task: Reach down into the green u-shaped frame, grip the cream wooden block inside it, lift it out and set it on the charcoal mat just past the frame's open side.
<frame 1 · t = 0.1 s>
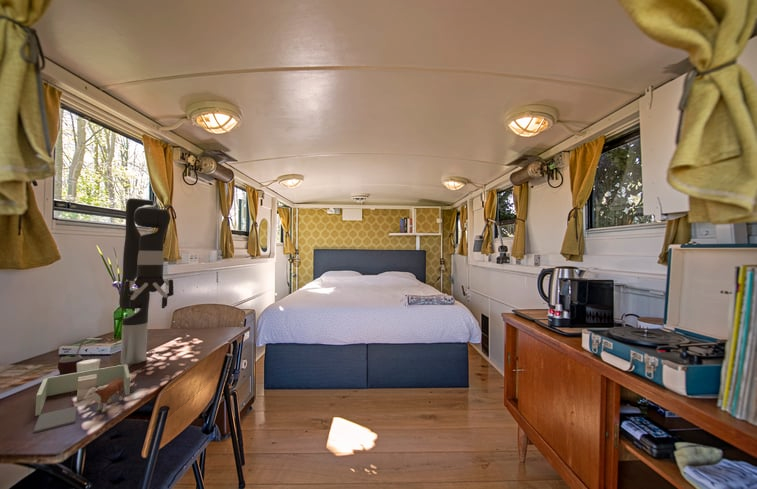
hand: (148, 309, 110), 29 cm above the table, tool pointing down, fingers open, 8 cm apart
green u-shaped frame: (86, 395, 106), on the table
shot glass: (87, 380, 120), on the table
bull figurine: (105, 408, 98), on the table
cream block: (86, 396, 105), on the table
mate gourd: (71, 376, 123), on the table
charcoal mat: (56, 419, 90), on the table
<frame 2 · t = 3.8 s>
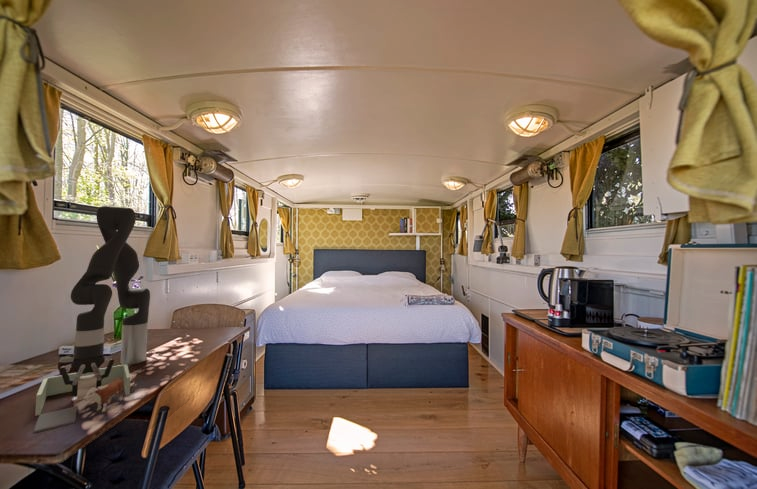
hand: (86, 392, 105), 1 cm above the table, tool pointing down, fingers closed on cream block, 4 cm apart
cream block: (86, 396, 105), on the table, touching gripper
everything else where it was.
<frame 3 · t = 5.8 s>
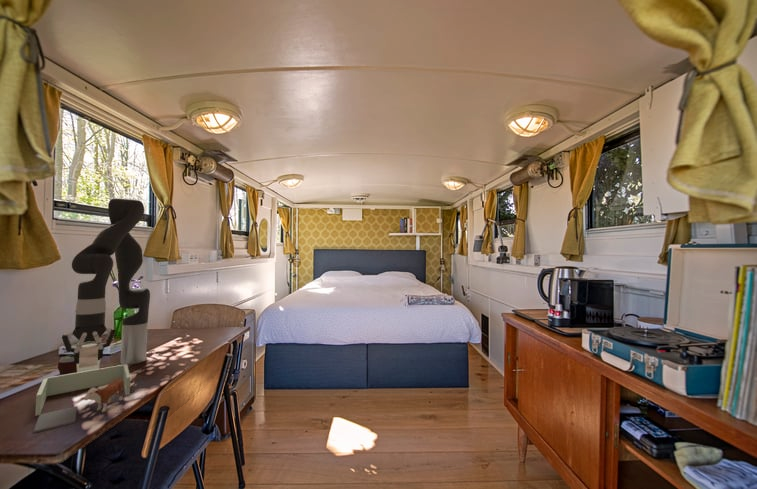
hand: (88, 361, 106), 12 cm above the table, tool pointing down, fingers closed on cream block, 4 cm apart
cream block: (88, 364, 106), point 11 cm above the table, touching gripper
everything else where it was.
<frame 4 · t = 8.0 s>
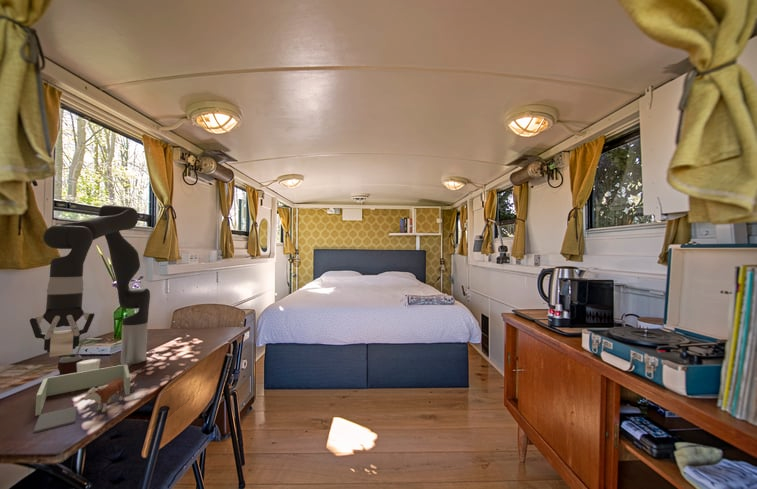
hand: (61, 349, 91), 20 cm above the table, tool pointing down, fingers closed on cream block, 4 cm apart
cream block: (61, 353, 91), point 19 cm above the table, touching gripper
everything else where it was.
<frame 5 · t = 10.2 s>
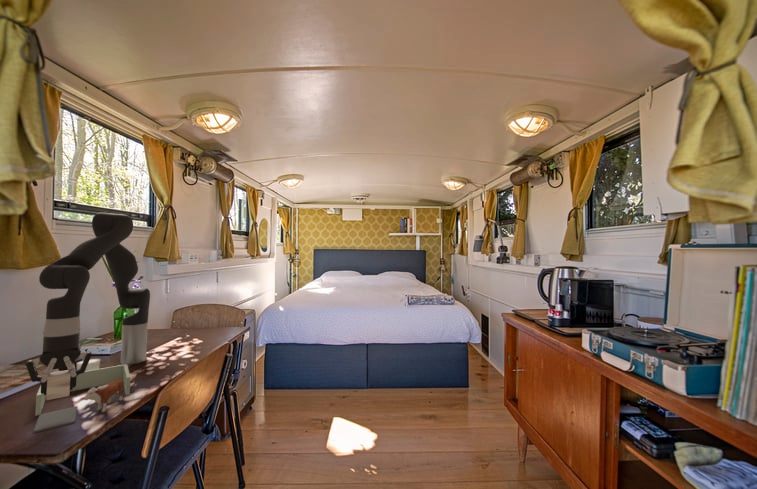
hand: (58, 391, 91), 8 cm above the table, tool pointing down, fingers closed on cream block, 4 cm apart
cream block: (58, 395, 91), point 7 cm above the table, touching gripper
everything else where it was.
when the fingers open (3 cm above the table, at t = 12.0 s): cream block drops 2 cm, resting on charcoal mat.
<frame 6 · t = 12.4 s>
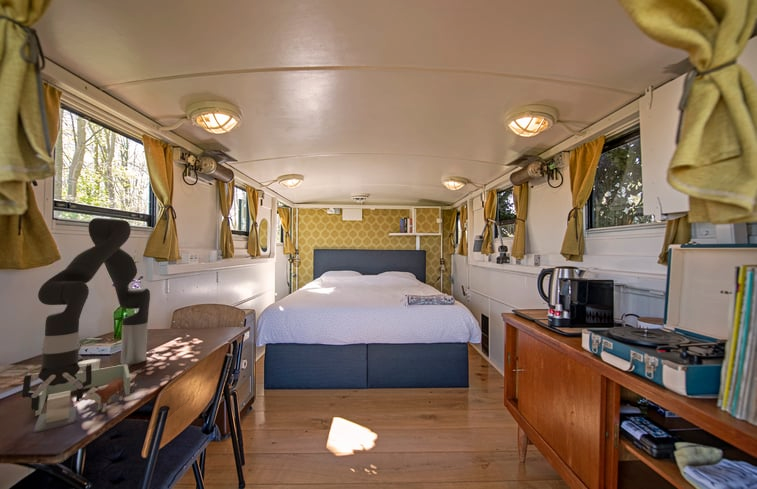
hand: (57, 405, 90), 4 cm above the table, tool pointing down, fingers open, 8 cm apart
cream block: (58, 417, 90), resting on charcoal mat
everything else where it was.
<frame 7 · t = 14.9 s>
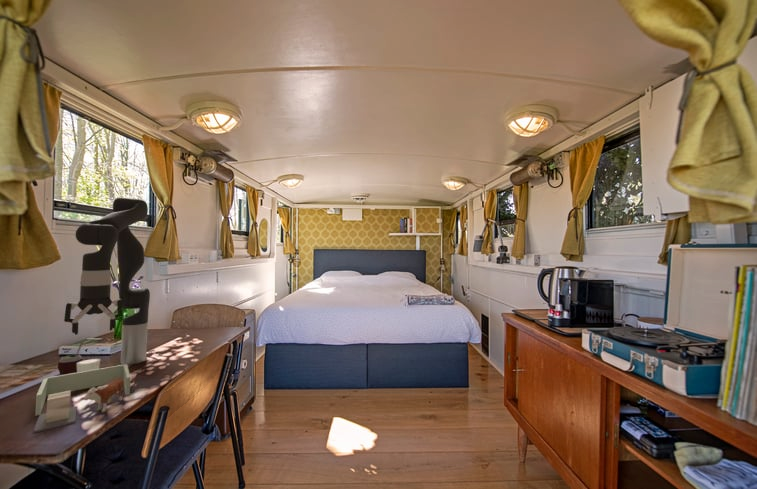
hand: (94, 331, 104), 22 cm above the table, tool pointing down, fingers open, 8 cm apart
nothing on the table moved.
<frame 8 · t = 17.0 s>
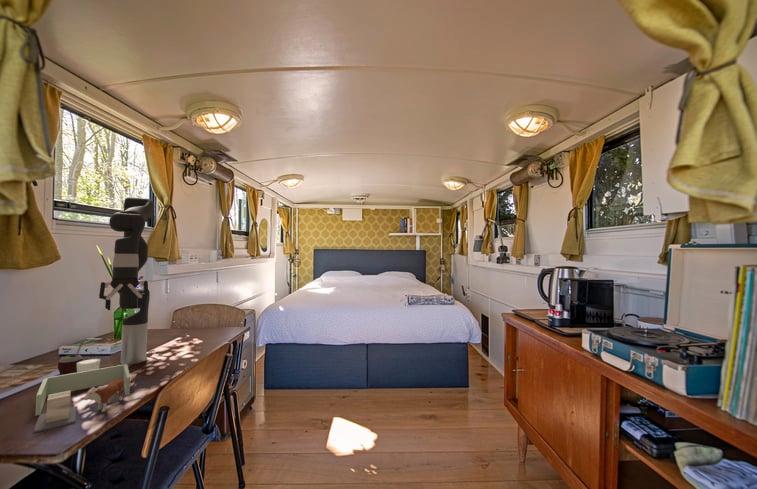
hand: (123, 308, 117), 28 cm above the table, tool pointing down, fingers open, 8 cm apart
nothing on the table moved.
at the end: cream block inside the target area (0.2 cm from its centre), point 0.5 cm above the table; cream block tilted 0°; the gripper is holding nothing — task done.
